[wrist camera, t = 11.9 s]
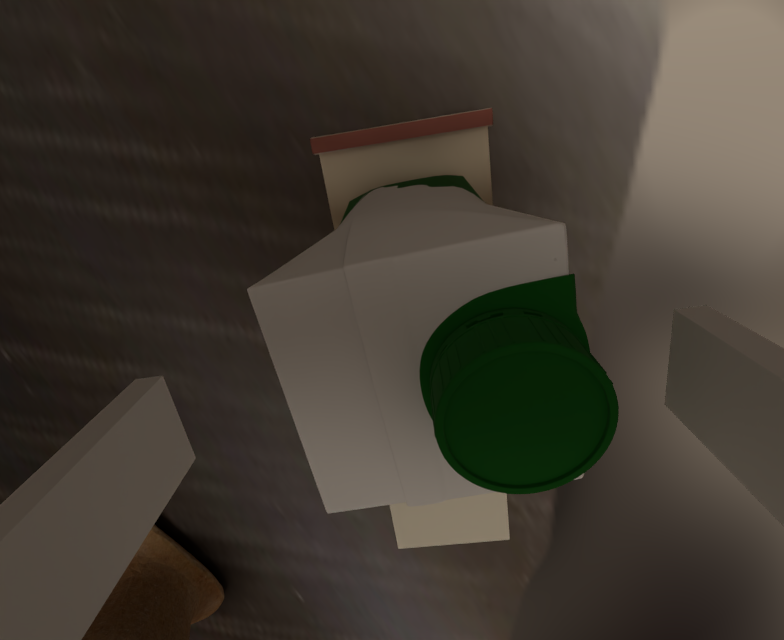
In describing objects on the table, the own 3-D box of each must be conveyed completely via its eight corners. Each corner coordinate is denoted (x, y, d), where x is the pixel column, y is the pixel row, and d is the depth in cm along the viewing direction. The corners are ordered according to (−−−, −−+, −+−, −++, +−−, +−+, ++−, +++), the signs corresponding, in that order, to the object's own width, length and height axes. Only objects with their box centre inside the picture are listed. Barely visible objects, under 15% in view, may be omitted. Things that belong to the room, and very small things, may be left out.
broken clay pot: (260, 582, 44) (191, 788, 30) (170, 620, 47) (69, 825, 33) (155, 476, 39) (17, 662, 25) (62, 525, 42) (-110, 718, 28)
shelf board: (321, 137, 28) (309, 137, 25) (481, 111, 27) (492, 107, 24) (378, 426, 36) (375, 457, 33) (502, 413, 35) (512, 443, 32)
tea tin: (391, 377, 32) (383, 476, 23) (475, 367, 32) (504, 464, 22) (401, 434, 34) (398, 548, 25) (481, 426, 34) (509, 539, 24)
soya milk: (495, 293, 30) (641, 555, 11) (362, 318, 31) (293, 598, 12) (475, 155, 26) (635, 199, 8) (328, 189, 27) (162, 298, 9)
